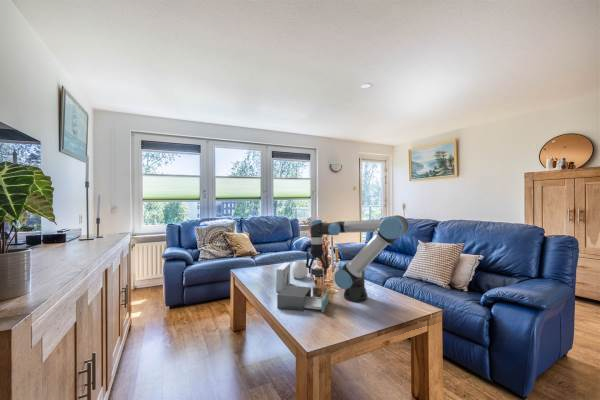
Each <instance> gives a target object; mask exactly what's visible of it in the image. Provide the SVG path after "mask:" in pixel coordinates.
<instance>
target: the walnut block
mask: <svg viewBox="0 0 600 400" xmlns="http://www.w3.org/2000/svg"><path fill="white" fill-rule="evenodd" d="M312 297H321V298H322V285H314V286H312Z"/></svg>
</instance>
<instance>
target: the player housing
mask: <svg viewBox="0 0 600 400" xmlns="http://www.w3.org/2000/svg"><path fill="white" fill-rule="evenodd" d="M305 296H310V297H312V287H311V286H300V285H298V286H297V285H287V286H286V287H285V288H284V289H283V290H282V291H281V292H278V293H277V295H276V301H277V303H276V305H277V306H276V307H277V309H279V310H285V311H286V310H288V311H295V312H296V311H298V312H305V310H306V309H307V308H304V298H305Z"/></svg>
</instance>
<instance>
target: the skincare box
mask: <svg viewBox="0 0 600 400" xmlns="http://www.w3.org/2000/svg"><path fill="white" fill-rule="evenodd" d="M275 281H276V282H275V283H276V284H275V287H276V288H275V292H276V293H280V292H281V291H282V290H283V289H284V288H285V287H286V286H287V285H288V286H290V283H291V262H283V263H282V264H281V265H280V266H278V267H277V268H276V280H275Z"/></svg>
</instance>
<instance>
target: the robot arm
mask: <svg viewBox="0 0 600 400" xmlns="http://www.w3.org/2000/svg"><path fill="white" fill-rule="evenodd" d="M309 227H310V251H307V252H306V261H305V262H306V268H308V274H309V275H310V277H309V278H310V280H312V279H313V276H314V275H313V274H312V269H313V267H312V265H313V263H314V261H315V259H319V260H320V263H321V265H322V269H323V274H322V280H326V276H325V275H326V274H327V269H329V268H330V264H329V257H328V252H327V251H324V249H323V247H324V246H323V235H325V236H339V234H345V233H346V234H347V233H375V234H374V236H372V238H371V239H370V240H369V241H368V242H367V243H366V244H365V245H364V246H363V247H362V248H361V250H360V251H359V252H358V253H357V254H356V255H355V256H354V257H353V258H352V259H351V260H348V261H346V262H345V264H344V265H342V267H341V268H339V269H337V270H336V271H335V273H334V275H333V278H334V283H335V284H336V285H337V286H338V288H340V289H342V290H344V291H343V298H344V299H345V300H347V301H349V302H354V303H357V302H358V303H359V302H360V303H361V302H365V301H367V300H368V292H367V290H366V284H365V283H366V281H365V274H366V273H365V270H366V269H367V268H368V266H369V265H370V264H371V263H372V262H373V261H374V260H375V258H376V257H378V255H380V253H381V252H382V251H384V249H385V248H387V246H388V245H393V244H394V243H395V242H396V241H397V240H398V239H399V238H400V237H401V236H403V235H405V234H406V233H407V231H408V230H409V222H408V220H407V218H405V217H404V216H403V215H398V214H397V215H393V216H392V215H390V216H387V217H384V218H383V219H382V218H381V219H365V220H364V219H363V220H346V221H344V220H342V221H341V220H340V221H334V222H323V220H322V219H312V220H310V226H309ZM323 256H324V258H323ZM310 257H311V260H310ZM324 259H325V260H324Z"/></svg>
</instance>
